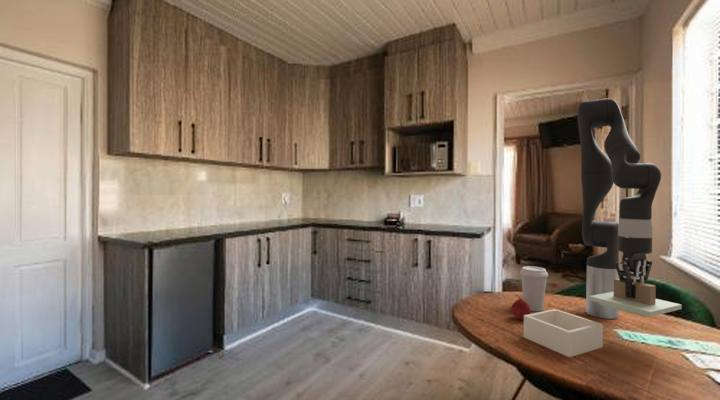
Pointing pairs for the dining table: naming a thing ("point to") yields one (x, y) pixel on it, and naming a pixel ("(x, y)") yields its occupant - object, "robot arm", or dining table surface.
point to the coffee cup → (534, 286)
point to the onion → (520, 308)
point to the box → (563, 332)
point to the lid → (635, 300)
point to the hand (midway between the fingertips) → (633, 296)
